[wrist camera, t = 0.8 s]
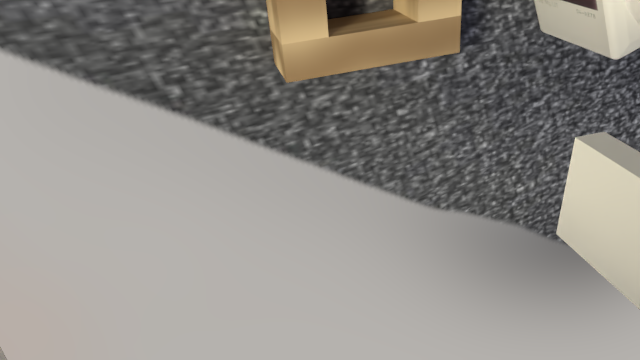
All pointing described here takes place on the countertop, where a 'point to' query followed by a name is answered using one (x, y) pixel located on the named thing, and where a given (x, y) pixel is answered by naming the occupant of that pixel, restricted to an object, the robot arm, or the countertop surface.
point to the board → (359, 36)
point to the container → (593, 24)
